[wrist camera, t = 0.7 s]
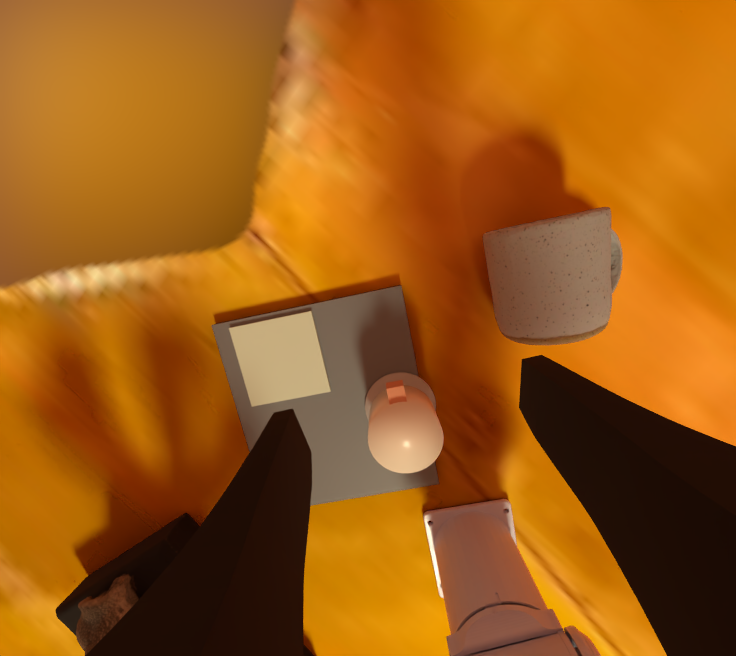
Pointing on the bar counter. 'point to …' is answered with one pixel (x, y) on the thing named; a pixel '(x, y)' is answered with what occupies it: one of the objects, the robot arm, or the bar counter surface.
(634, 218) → the bar counter surface
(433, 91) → the bar counter surface
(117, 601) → the driftwood sculpture
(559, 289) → the ceramic mug
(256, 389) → the board
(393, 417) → the domed cylinder with nub
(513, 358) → the bar counter surface
